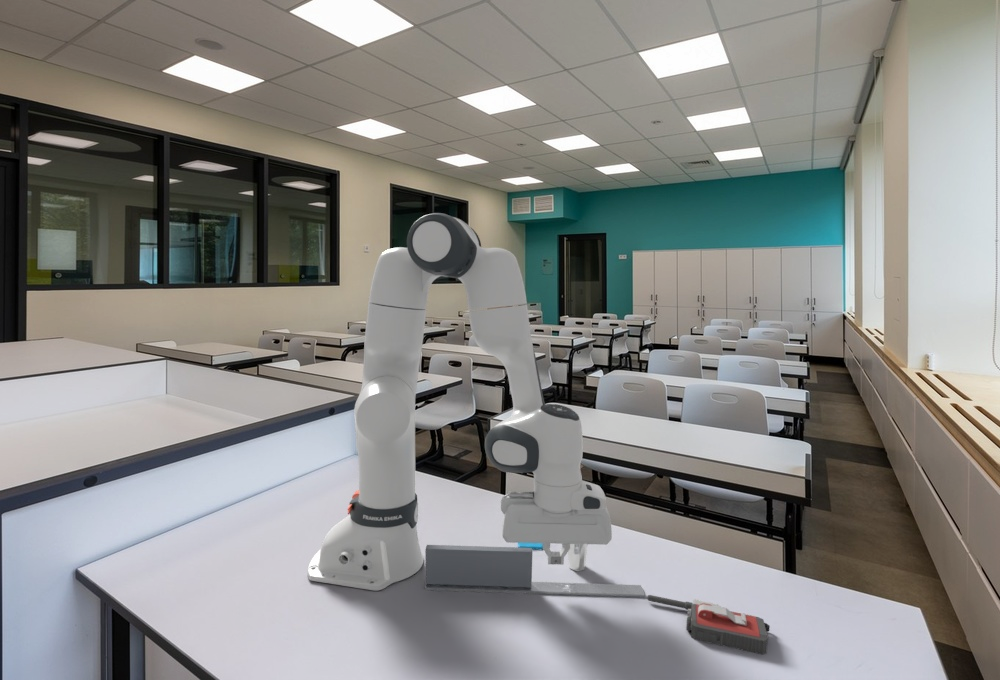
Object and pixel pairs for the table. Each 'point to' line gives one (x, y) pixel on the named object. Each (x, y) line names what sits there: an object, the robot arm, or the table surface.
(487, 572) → the screen
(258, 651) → the table surface
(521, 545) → the sponge
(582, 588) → the rail
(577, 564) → the milkshake
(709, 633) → the walkie-talkie
